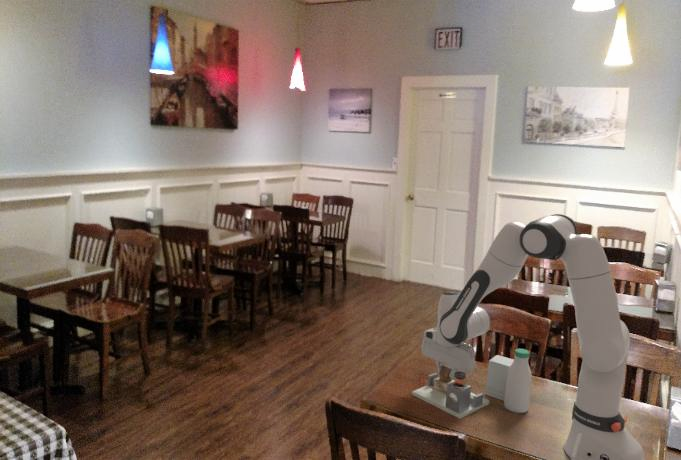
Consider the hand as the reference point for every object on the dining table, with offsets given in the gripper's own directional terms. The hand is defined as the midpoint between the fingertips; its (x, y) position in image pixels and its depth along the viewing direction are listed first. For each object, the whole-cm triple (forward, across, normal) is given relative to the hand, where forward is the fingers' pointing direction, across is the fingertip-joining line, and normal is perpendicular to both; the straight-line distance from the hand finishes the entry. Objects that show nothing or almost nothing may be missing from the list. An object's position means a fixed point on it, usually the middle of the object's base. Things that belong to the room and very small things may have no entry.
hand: (445, 375), depth 191 cm
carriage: (+5, 0, 0) cm, 5 cm away
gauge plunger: (+2, -10, +7) cm, 13 cm away
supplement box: (+7, -12, -15) cm, 20 cm away
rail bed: (+6, -4, +2) cm, 8 cm away
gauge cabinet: (+6, -10, +7) cm, 14 cm away
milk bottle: (+7, -21, -11) cm, 25 cm away
